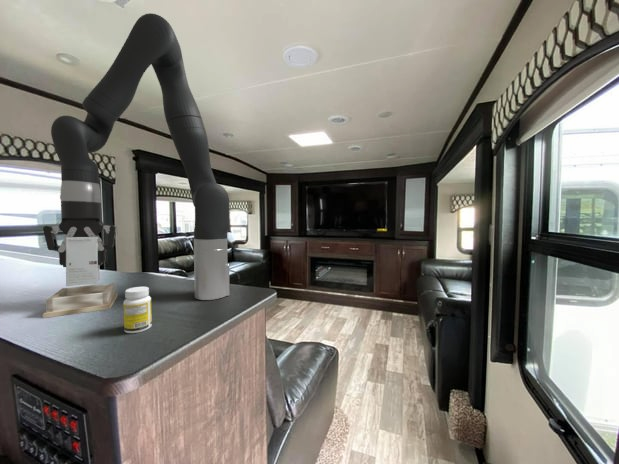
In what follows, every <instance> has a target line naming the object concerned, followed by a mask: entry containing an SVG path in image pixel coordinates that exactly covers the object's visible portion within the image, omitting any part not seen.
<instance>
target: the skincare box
mask: <svg viewBox="0 0 619 464" xmlns="http://www.w3.org/2000/svg"><path fill="white" fill-rule="evenodd" d="M99 237H100V236H99ZM99 237H73V238H66V267H65V285H66V287H70V286H71V287H74V286H85V285H92V284H93V285H96V284H97V283H99V282H100V280H101V277H100V273H101V272H100V269H101V268H100V266H101V265H98V251H99V250H98V242H97V238H98V239H99Z"/></svg>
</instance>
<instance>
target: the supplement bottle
mask: <svg viewBox="0 0 619 464" xmlns="http://www.w3.org/2000/svg"><path fill="white" fill-rule="evenodd" d="M124 292H125V293H124V297H125V299H124V300H123V302H122V304H123V326H124V327H123V329H124V330H123V331H124V332H125V333H127V334H138V333H142V332H145V331H147V330H149V329H150V328H152V326H153V315H152V297H151V296H150V294H149V293H150V288H149V287H148V286H135V287H134V286H133V287H129V288H126V290H125V291H124Z"/></svg>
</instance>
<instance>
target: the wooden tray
mask: <svg viewBox="0 0 619 464" xmlns="http://www.w3.org/2000/svg"><path fill="white" fill-rule="evenodd" d="M115 285H116V283H114V282H113V283H111V282H110V283H101V284H93V285H92V284H89V285H79V286H71V287H70V286H69V287H62V288H61V289H60V290H58V291H57V292H55V293H54V294H52V295H51V296H50V297H47V299H45V303H46V304H45V305H46V308H45V309H46V310H45V311H44V312H43V313H42V319H45V318H54V317H61V316H68V315H74V314H82V313H90V312H98V311H104V310H105V311H106V310H111V308H112V307H113V305H114V303H115V301H116V300H117V298H118V292H116V286H115Z"/></svg>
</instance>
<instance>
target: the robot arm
mask: <svg viewBox="0 0 619 464" xmlns="http://www.w3.org/2000/svg"><path fill="white" fill-rule="evenodd" d="M150 66H152V68H153V71H154V74H155V75H156V78H157V81H158V83H159V86H160V90H161V94H162V95H161V96H162V104H163V105H162V106H163V107H162V108H163V112H164V113H163V115H164V118H165V121H166V124H167V127H168V131H169V134H170V136H171V139H172V142H173V144H174V147H175V149H176V152H177V154H178V157H179V159H180V163H182V165H183V168H184V170H185V174H186V177H187V181H188V184H189V189H190V190H189V191H190V194H191V199H192V204H193V207H194V226H193V262H194V263H193V264H194V265H193V268H194V270H193V271H194V274H193V275H194V279H193V280H194V281H193V283H194V298H195V299H197V300H200V301H212V300H218V299H221V298H224V297H229V296H230V264H229V263H228V234H229V227H230V198H229V197H230V196H229V193H228V192H227V190H226V189H225V187H224V186H222V185H220V184H218V183H217V181H216V178H215V175H214V173H213V169H212V165H211V159H210V158H211V157H210V149H209V139H208V135H207V131H206V128H205V124H204V121H203V118H202V115H201V113H200V109H199V106H198V104H197V101H196V100H195V98H194V95H193V93H192V91H191V88H190V86H189V81H188V79H187V74H186V70H185V65H184V59H183V54H182V49H181V45H180V42H179V40H178V38H177V36H176V34H175V30H174V29H173V27H172V25H171V24H170V23H169V21H167V19H165V18H164V17H163V16H161V15H159V14H156V13H145V14H143V15H141V16H140V17H139V18H138V19H137V20H136V22H135V23H134V24H133V27H132V28H131V30H130V32H129V33H128V36H127V38H126V40H125V41H124V43H123V45H122V47H121V49H120V50H119V52H118V54H117V55H116V57H115V59H114V60H113V62H112V64H111V65H110V67H109V69H108V70H107V71H106V72H105V74H104V75H103V77H102V78H101V79H100V81H99V82H98V83H97V84H96V85H95V86H94V88H93V89H92V90H91V91H89V93H88V95H86V97H84V99H83V100H82V103H81V105H82V108H83V109H84V110H85V111H86V113H87V114H86V116H85V119H84V121H83V120H81V119H79V118H77V117H74V116H71V115H60V116H58V117H57V118H56V119H54V121H53V123H52V124H51V129H50V134H51V139H52V143H53V146H54V149H55V151H56V154H57V158H58V159H59V162H60V167H61V168H60V174H61V177H60V178H61V184H60V195H59V200H60V211H61V212H60V215H61V218H60V219H61V221H60V223H59V225H44V226H43V228H42V230H43V234H44V239H45V244H46V247H47V249H48V250H49V251H54V252H57V253H58V257H59V258H58V259H59V261H58V262H59V265H60V266H62V267H63V268H66V238H73V237H99V239H98V238H97V242H98V250H99V251H98V265H100V266H102V265H103V264H104V263H105V262H106V260H107V255H106V254H107V252H106V251H107V250H108V249H112V248H113V247H114V246H115V244H116V243H115V241H116V235H117V229H118V228H117V226H116V225H106V224H104V223H103V221H102V194H101V193H102V192H101V188H100V172H99V171H100V170H99V166H98V163H96V162H95V161H94V160H92V158H91V157H90V154H92V153H96V152H98V151H100V150H101V149H103V148H104V147H105V145H106V143H107V142H108V140H109V138H110V135H111V133H112V131H113V130H114V125H115V123H116V122H117V121H118V120H119V118H120V117H121V116H122V115H123V114H124V112H125V111H126V110H127V109H128V108H129V107H130V105H131V103H132V102H133V100H134V98H135V95H136V93H137V89H138V87H139V84H140V82H141V80H142V77H143V76H144V74H145V72H146V71H147V69H148V68H149V67H150ZM89 153H90V154H89ZM59 230H60V231H61V232H62V233H64V234H65V236H64V238H63V240H62V241H61V244H60V245H58V240H57V234H58V233H59ZM103 230H105V233H106V234H108V236H107V242H106V244H105V243H104V242H103V240H102V238H101V237H100V235H99V234H100V233H101V232H102V231H103Z"/></svg>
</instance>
